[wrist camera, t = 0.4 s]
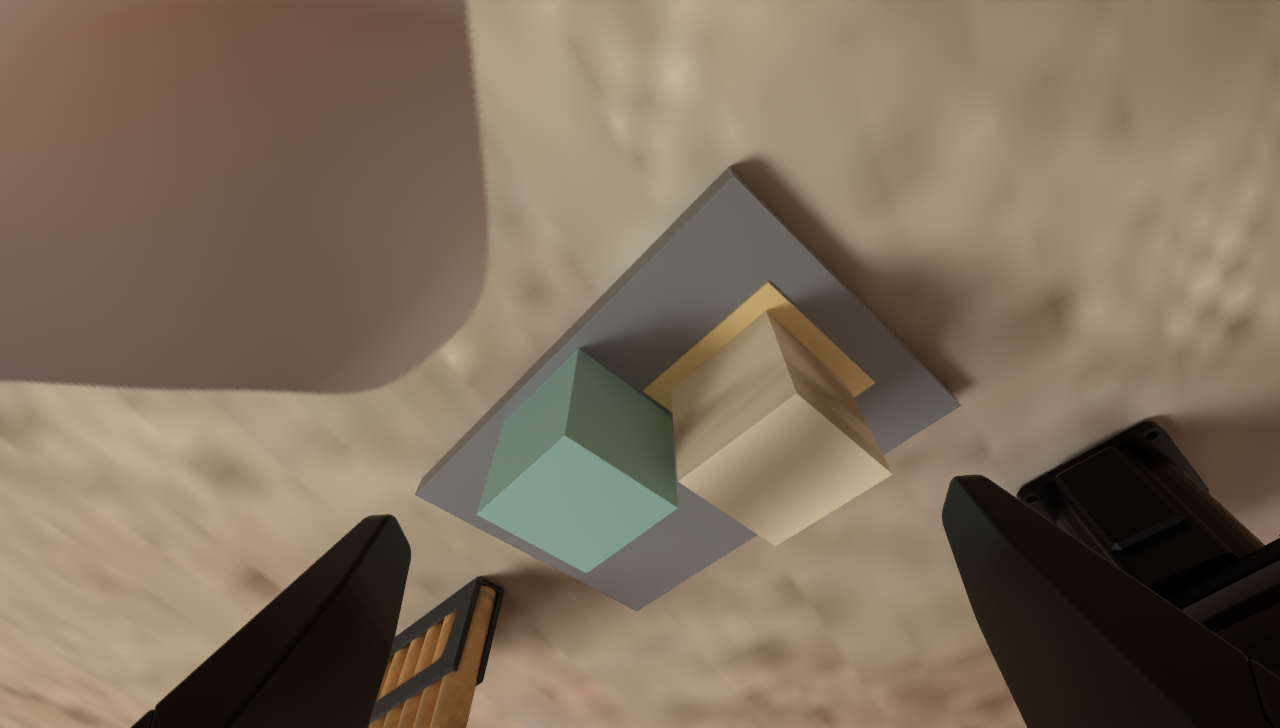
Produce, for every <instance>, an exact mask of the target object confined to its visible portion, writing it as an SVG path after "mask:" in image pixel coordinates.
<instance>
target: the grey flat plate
mask: <svg viewBox="0 0 1280 728" xmlns="http://www.w3.org/2000/svg"><path fill="white" fill-rule="evenodd" d="M764 311H767V312H768V313H769V314H770V315H771V316H773V317H774V318H775V319H776V320H777V321H778V322H779V323H780V324H781V325H782V326H784V327H785V328H786V329H787V330H788V331H789V332H790V333H791V334H792V335H794V336H795V337H796V338H797V339H798V340H799V341H800V342H801V343H802V344H803V345H805V346H806V347H807V348H808V349H809V350H810V351H811V352H812V353H813V354H815V355H816V356H817V357H818V358H819V359H820V360H821V361H822V362H823V363H824V364H826V365H827V366H828V367H829V368H830V369H831V370H832V371H833V372H834V373H836V374H837V375H838V376H839V377H840V378H841V379H842V380H843V381H844V382H845V383H847V385H848V387H849V389H850V391H851V393H852V395H853V397H854V399H855V401H856V403H857V405H858V407H859V409H860V411H861V413H862V415H863V417H864V419H865V421H866V423H867V425H868V427H869V429H870V431H871V433H872V435H873V437H874V438H875V440H876V442H877V444H878V446H879V448H880V450H881V452H882V454H883V455H884V454H885V453H887V452H888V451H890V450H891V449H893V448H895V447H896V446H898V445H899V444H901V443H902V442H904V441H906V440H907V439H909V438H910V437H912V436H913V435H915V434H917V433H918V432H920V431H921V430H923V429H925V428H926V427H928V426H929V425H931V424H932V423H934V422H936V421H937V420H939V419H940V418H942V417H943V416H945V415H947V414H948V413H950V412H951V411H953V410H954V409H956V408H958V407H959V406H961V405H960V404H959V402H958V401H957V399H956V398H955V397H954V395H953V394H952V393H951V391H950V390H949V389H948V388H947V387H946V386H945V385H944V384H943V383H942V382H941V381H940V380H939V379H938V378H937V377H936V376H935V375H934V374H933V373H932V372H931V371H930V370H929V369H928V368H927V367H926V366H925V365H924V364H923V363H922V362H921V361H920V360H919V359H918V358H917V357H916V356H915V355H914V354H913V353H912V352H911V351H910V350H909V349H908V348H907V347H906V346H905V344H904V343H903V342H902V341H901V340H900V339H899V338H898V337H897V336H896V335H895V334H894V333H893V332H892V331H891V330H890V329H889V328H888V327H887V326H886V325H885V324H884V323H883V322H882V321H881V320H880V319H879V318H878V317H877V316H876V315H875V314H874V313H873V312H872V311H871V310H870V309H869V308H868V307H867V306H866V305H865V304H864V303H863V302H862V301H861V300H860V299H859V298H858V297H857V296H856V295H855V294H854V293H853V292H852V291H851V290H850V289H849V288H848V287H847V286H846V285H845V284H844V283H843V282H842V281H841V280H840V278H839V277H838V276H837V275H836V274H835V273H834V272H833V271H832V270H831V269H830V268H829V267H828V266H827V265H826V264H825V263H824V262H823V261H822V260H821V259H820V258H819V257H818V256H817V255H816V254H815V253H814V252H813V251H812V250H811V249H810V248H809V247H808V246H807V245H806V244H805V243H804V242H803V241H802V240H801V239H800V238H799V237H798V236H797V235H796V234H795V233H794V232H793V231H792V230H791V229H790V228H789V227H788V226H787V225H786V224H785V223H784V222H783V221H782V220H781V219H780V218H779V217H778V216H777V215H776V213H775V212H774V211H773V210H772V209H771V208H770V207H769V206H768V205H767V204H766V203H765V202H764V201H763V200H762V199H761V198H760V197H759V196H758V195H757V194H756V193H755V192H754V191H753V190H752V189H751V188H750V187H749V186H748V185H747V184H746V183H745V182H744V181H743V180H742V179H741V178H740V177H739V176H738V175H737V174H736V173H735V172H734V171H733V170H732V169H731V168H730V167H728V168H727V169H726V170H725V172H724V173H723V174H722V175H721V176H720V177H719V178H718V179H717V180H716V181H715V182H714V183H713V184H712V185H711V186H710V187H709V188H708V189H707V190H706V191H705V192H704V193H703V194H702V195H701V196H700V197H699V198H698V199H697V200H696V201H695V202H694V203H693V204H692V205H691V206H690V207H689V208H688V209H687V210H686V211H685V212H684V213H683V214H682V215H681V216H680V217H679V218H678V219H677V220H676V221H675V222H674V223H673V224H672V225H671V226H670V227H669V228H668V229H667V230H666V231H665V232H664V233H663V234H662V235H661V236H660V238H659V239H658V240H657V241H656V242H655V243H654V244H653V245H652V246H651V247H650V248H649V249H648V250H647V251H646V252H645V253H644V254H643V255H642V256H641V257H640V258H639V259H638V260H637V261H636V262H635V263H634V264H633V265H632V266H631V267H630V268H629V269H628V270H627V271H626V272H625V273H624V274H623V275H622V276H621V277H620V278H619V279H618V280H617V281H616V282H615V283H614V284H613V285H612V286H611V287H610V288H609V289H608V290H607V291H606V292H605V293H604V294H603V295H602V296H601V297H600V298H599V299H598V300H597V301H596V302H595V304H594V305H593V306H592V307H591V308H590V309H589V310H588V311H587V312H586V313H585V314H584V315H583V316H582V317H581V318H580V319H579V320H578V321H577V322H576V323H575V324H574V325H573V326H572V327H571V328H570V329H569V330H568V331H567V332H566V333H565V334H564V335H563V336H562V337H561V338H560V339H559V340H558V341H557V342H556V343H555V344H554V345H553V346H552V347H551V348H550V349H549V350H548V351H547V352H546V353H545V354H544V355H543V356H542V357H541V358H540V359H539V360H538V361H537V362H536V363H535V364H534V365H533V366H532V367H531V369H530V370H529V371H528V372H527V373H526V374H525V375H524V376H523V377H522V378H521V379H520V380H519V381H518V382H517V383H516V384H515V385H514V386H513V387H512V388H511V389H510V390H509V391H508V392H507V393H506V394H505V395H504V396H503V397H502V398H501V399H500V400H499V401H498V402H497V403H496V404H495V405H494V406H493V407H492V408H491V409H490V410H489V411H488V412H487V413H486V414H485V415H484V416H483V417H482V418H481V419H480V420H479V421H478V422H477V423H476V424H475V425H474V426H473V427H472V428H471V429H470V430H469V431H468V432H467V433H466V435H465V436H464V437H463V438H462V439H461V440H460V441H459V442H458V443H457V444H456V445H455V446H454V447H453V448H452V449H451V450H450V451H449V452H448V453H447V454H446V455H445V456H444V457H443V458H442V459H441V460H440V461H439V462H438V463H437V464H436V465H435V466H434V467H433V468H432V469H431V470H430V471H429V472H428V473H427V474H426V475H425V476H424V477H423V478H422V479H421V482H420V484H419V486H418V489H417V491H416V493H415V495H416V496H418V497H420V498H422V499H424V500H426V501H428V502H429V503H431V504H433V505H435V506H437V507H439V508H441V509H443V510H445V511H447V512H449V513H450V514H452V515H454V516H456V517H458V518H460V519H462V520H464V521H466V522H468V523H470V524H471V525H473V526H475V527H477V528H479V529H481V530H483V531H485V532H487V533H489V534H491V535H492V536H494V537H496V538H498V539H500V540H502V541H504V542H506V543H508V544H510V545H512V546H513V547H515V548H517V549H519V550H521V551H523V552H525V553H527V554H529V555H531V556H533V557H534V558H536V559H538V560H540V561H542V562H544V563H546V564H548V565H550V566H552V567H553V568H555V569H557V570H559V571H561V572H563V573H565V574H567V575H569V576H571V577H573V578H574V579H576V580H578V581H580V582H582V583H584V584H586V585H588V586H590V587H592V588H594V589H595V590H597V591H599V592H601V593H603V594H605V595H607V596H609V597H611V598H613V599H615V600H616V601H618V602H620V603H622V604H624V605H626V606H628V607H630V608H632V609H634V610H636V611H638V610H639V609H641V608H642V607H644V606H646V605H647V604H649V603H650V602H652V601H653V600H655V599H657V598H658V597H660V596H661V595H663V594H664V593H666V592H668V591H669V590H671V589H672V588H674V587H675V586H677V585H679V584H680V583H682V582H683V581H685V580H687V579H688V578H690V577H691V576H693V575H694V574H696V573H698V572H699V571H701V570H702V569H704V568H705V567H707V566H709V565H710V564H712V563H713V562H715V561H716V560H718V559H720V558H721V557H723V556H724V555H726V554H727V553H729V552H731V551H732V550H734V549H735V548H737V547H739V546H740V545H742V544H743V543H745V542H746V541H748V540H750V539H751V538H753V537H754V536H756V535H757V534H756V533H754V532H753V531H751V530H750V529H748V528H747V527H745V526H744V525H742V524H741V523H739V522H738V521H736V520H735V519H733V518H732V517H730V516H729V515H727V514H726V513H724V512H723V511H721V510H720V509H718V508H717V507H715V506H714V505H712V504H711V503H709V502H708V501H706V500H705V499H703V498H702V497H700V496H699V495H697V494H696V493H694V492H693V491H691V490H690V489H688V488H687V487H685V486H684V485H682V484H681V483H679V482H678V476H677V463H676V450H675V437H674V424H673V411H672V398H671V390H672V389H673V388H674V387H675V386H677V385H678V384H679V383H680V382H681V381H683V380H684V379H685V378H686V377H687V376H688V375H690V374H691V373H692V372H693V371H694V370H696V369H697V368H698V367H699V366H700V365H702V364H703V363H704V362H705V361H706V360H707V359H709V358H710V357H711V356H712V355H713V354H715V353H716V352H717V351H718V350H719V349H721V348H722V347H723V346H724V345H725V344H726V343H728V342H729V341H730V340H731V339H732V338H734V337H735V336H736V335H737V334H738V333H739V332H741V331H742V330H743V329H744V328H745V327H747V326H748V325H749V324H750V323H751V322H753V321H754V320H755V319H756V318H757V317H758V316H760V315H761V314H762V313H763V312H764ZM578 348H579V349H580V350H581V351H583V352H584V353H585V354H587V355H588V356H590V357H591V358H592V359H594V360H595V361H597V362H598V363H599V364H601V365H602V366H603V367H605V368H606V369H608V370H609V371H610V372H612V373H613V374H614V375H616V376H617V377H619V378H620V379H621V380H623V381H624V382H625V383H627V384H628V385H630V386H631V387H632V388H634V389H635V390H636V391H638V392H639V393H641V394H642V395H643V396H645V397H646V398H648V399H649V400H650V401H652V402H653V403H654V404H656V405H657V406H659V407H660V408H661V409H663V410H664V411H665V412H667V413H668V414H670V415H671V419H672V433H673V446H674V460H675V474H676V487H677V501H678V508H677V509H676V510H675V511H673V512H672V513H670V514H669V515H668V516H666V517H665V518H663V519H662V520H661V521H659V522H658V523H656V524H655V525H654V526H652V527H651V528H649V529H648V530H647V531H645V532H644V533H642V534H641V535H640V536H638V537H637V538H635V539H634V540H633V541H631V542H630V543H628V544H627V545H626V546H624V547H623V548H621V549H620V550H619V551H617V552H616V553H614V554H613V555H612V556H610V557H609V558H607V559H606V560H605V561H603V562H602V563H600V564H599V565H598V566H596V567H595V568H593V569H592V570H591V571H589V572H588V573H585V572H583V571H581V570H579V569H577V568H576V567H574V566H572V565H570V564H568V563H566V562H564V561H562V560H561V559H559V558H557V557H555V556H553V555H551V554H549V553H547V552H546V551H544V550H542V549H540V548H538V547H536V546H534V545H533V544H531V543H529V542H527V541H525V540H523V539H521V538H519V537H518V536H516V535H514V534H512V533H510V532H508V531H506V530H504V529H503V528H501V527H499V526H497V525H495V524H493V523H491V522H489V521H488V520H486V519H484V518H482V517H480V516H478V515H476V514H477V511H478V507H479V504H480V501H481V497H482V494H483V490H484V487H485V484H486V480H487V477H488V474H489V470H490V467H491V463H492V460H493V457H494V453H495V450H496V447H497V443H498V440H499V437H500V433H501V430H502V426H503V423H504V421H505V420H506V419H507V418H508V417H509V416H510V415H511V414H512V413H513V412H514V411H515V410H516V409H517V408H518V407H519V406H520V405H521V404H522V403H523V402H524V401H525V400H526V399H527V398H528V397H530V396H531V395H532V394H533V393H534V392H535V391H536V390H537V389H538V388H539V387H540V386H541V385H542V384H543V383H544V382H545V381H546V380H547V379H548V378H549V377H550V376H551V375H552V374H553V373H554V372H555V371H556V370H557V369H558V368H559V367H560V366H561V365H562V364H563V363H564V362H565V361H566V360H567V359H568V358H569V357H570V356H571V355H572V354H573V353H574V352H575V351H576V350H577V349H578Z"/></svg>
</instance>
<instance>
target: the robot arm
mask: <svg viewBox="0 0 1280 728" xmlns="http://www.w3.org/2000/svg"><path fill="white" fill-rule="evenodd" d="M1208 492H1209V490H1208V488H1207V486H1206V485H1205V484H1204V482H1203V481H1202V480H1201V478H1200V477H1199V476H1198V474H1197V473H1196V472H1195V470H1194V469H1193V468H1192V466H1191V465H1190V464H1189V462H1188V461H1187V460H1186V458H1185V457H1184V456H1183V454H1182V453H1181V452H1180V450H1179V449H1178V448H1177V446H1176V445H1175V444H1174V442H1173V441H1172V440H1171V438H1170V437H1169V436H1168V435H1167V433H1166V432H1165V431H1164V429H1163V428H1161V427H1160V426H1159V425H1158V424H1157V423H1155V422H1151V421H1150V422H1145V423H1143V424H1140V425H1138V426H1137V427H1135V428H1133V429H1131V430H1129V431H1127V432H1125V433H1124V434H1122V435H1120V436H1118V437H1116V438H1114V439H1113V440H1111V441H1109V442H1107V443H1105V444H1103V445H1101V446H1100V447H1098V448H1096V449H1094V450H1092V451H1090V452H1089V453H1087V454H1085V455H1083V456H1081V457H1079V458H1077V459H1076V460H1074V461H1072V462H1070V463H1068V464H1066V465H1064V466H1063V467H1061V468H1059V469H1057V470H1055V471H1053V472H1052V473H1050V474H1048V475H1046V476H1044V477H1042V478H1040V479H1039V480H1037V481H1035V482H1033V483H1031V484H1029V485H1028V486H1026V487H1024V488H1022V489H1021V490H1019V491H1018V493H1017V498H1018V499H1017V498H1016V497H1014V496H1013V495H1011V494H1010V493H1009V492H1007V491H1006V490H1004V489H1003V488H1001V487H1000V486H998V485H997V484H995V483H994V482H992V481H991V480H989V479H988V478H986V477H984V476H982V475H964V476H956V477H954V478H953V479H952V480H951V482H950V485H949V488H948V492H947V496H946V499H945V503H944V506H943V510H942V522H943V526H944V529H945V532H946V535H947V538H948V541H949V544H950V546H951V549H952V552H953V555H954V558H955V561H956V564H957V567H958V569H959V572H960V575H961V578H962V581H963V584H964V587H965V590H966V592H967V595H968V598H969V601H970V604H971V606H972V609H973V612H974V614H975V617H976V620H977V622H978V624H979V626H980V629H981V631H982V633H983V635H984V637H985V640H986V642H987V644H988V646H989V648H990V650H991V652H992V654H993V656H994V659H995V661H996V663H997V665H998V667H999V669H1000V671H1001V673H1002V675H1003V677H1004V680H1005V682H1006V684H1007V686H1008V688H1009V690H1010V692H1011V694H1012V696H1013V699H1014V701H1015V703H1016V705H1017V707H1018V709H1019V711H1020V713H1021V715H1022V718H1023V720H1024V722H1025V724H1026V726H1027V728H1280V538H1279V539H1277V540H1275V541H1273V542H1271V543H1269V544H1267V545H1264V544H1263V543H1262V542H1261V541H1260V540H1259V539H1258V538H1257V537H1255V536H1254V535H1253V534H1252V533H1251V532H1250V531H1249V530H1248V529H1247V528H1246V527H1245V526H1243V525H1242V524H1241V523H1240V522H1239V521H1238V520H1237V519H1236V518H1235V517H1234V516H1233V515H1231V514H1230V513H1229V512H1228V511H1227V510H1226V509H1225V508H1224V507H1223V506H1222V505H1221V504H1220V503H1218V502H1217V501H1216V500H1215V499H1214V498H1213V497H1212V496H1211V495H1210V494H1209V493H1208ZM1279 536H1280V535H1279ZM410 560H411V549H410V545H409V543H408V541H407V539H406V537H405V535H404V533H403V531H402V529H401V527H400V525H399V523H398V521H397V519H396V518H395V517H394V516H392V515H389V514H386V515H372V516H368V517H366V518H364V519H363V520H362V521H361V522H360V523H358V524H357V525H356V526H355V527H354V528H353V529H352V530H351V531H350V532H348V533H347V534H346V535H345V536H344V537H343V538H342V539H341V540H339V541H338V542H337V543H336V544H335V545H334V546H333V547H332V548H331V549H329V550H328V551H327V552H326V553H325V554H324V555H323V556H322V557H321V558H319V559H318V560H317V561H316V562H315V563H314V564H313V565H312V566H310V567H309V568H308V569H307V570H306V571H305V572H304V573H303V574H302V575H300V576H299V577H298V578H297V579H296V580H295V581H294V582H293V583H291V584H290V585H289V586H288V587H287V588H286V589H285V590H284V591H283V592H281V593H280V594H279V595H278V596H277V597H276V598H275V599H274V600H273V601H271V602H270V603H269V604H268V605H267V606H266V607H265V608H264V609H262V610H261V611H260V612H259V613H258V614H257V615H256V616H255V617H254V618H252V619H251V620H250V621H249V622H248V623H247V624H246V625H245V626H244V627H242V628H241V629H240V630H239V631H238V632H237V633H236V634H235V635H233V636H232V637H231V638H230V639H229V640H228V641H227V642H226V643H225V644H223V645H222V646H221V647H220V648H219V649H218V650H217V651H216V652H214V653H213V654H212V655H211V656H210V657H209V658H208V659H207V660H206V661H204V662H203V663H202V664H201V665H200V666H199V667H198V668H197V669H196V670H194V671H193V672H192V673H191V674H190V675H189V676H188V677H187V678H185V679H184V680H183V681H182V682H181V683H180V684H179V685H178V686H177V687H175V688H174V689H173V690H172V691H171V692H170V693H169V694H168V695H166V696H165V697H164V698H163V699H162V700H161V701H160V702H159V703H158V704H157V705H156V706H155V710H150V711H148V712H147V713H146V714H145V715H144V716H143V717H142V718H141V719H139V720H138V721H137V722H136V723H135V724H134V725H133V726H132V727H131V728H368V725H369V722H370V719H371V715H372V712H373V709H374V706H375V703H376V700H377V696H378V693H379V690H380V687H381V684H382V680H383V677H384V674H385V671H386V668H387V665H388V661H389V658H390V654H391V651H392V647H393V643H394V638H395V634H396V629H397V624H398V619H399V615H400V610H401V605H402V600H403V595H404V590H405V585H406V580H407V575H408V570H409V566H410Z"/></svg>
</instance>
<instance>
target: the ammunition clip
mask: <svg viewBox="0 0 1280 728" xmlns="http://www.w3.org/2000/svg"><path fill="white" fill-rule="evenodd" d="M503 593H504V591H503V590H501V589H500V588H498V587H496V586H494V585H492V584H490V583H488V582H486V581H484V580H482V579H480V578H478V577H476V578H475V579H474V580H472V581H471V582H470V583H468V584H467V585H466V586H464V587H463V588H461V589H460V590H459V591H457V592H456V593H455V594H453V595H452V596H451V597H449V598H448V599H446V600H445V601H444V602H442V603H441V604H440V605H438V606H437V607H436V608H434V609H433V610H431V611H430V612H429V613H427V614H426V615H425V616H423V617H422V618H421V619H419V620H418V621H416V622H415V623H414V624H412V625H411V626H410V627H408V628H407V629H406V630H404V631H403V632H401V633H400V634H399V635H397V636H396V637H395V638H394V643H393V647H392V651H391V654H390V658H389V661H388V665H387V668H386V671H385V674H384V677H383V680H382V684H381V687H380V690H379V693H378V696H377V700H376V703H375V706H374V709H373V712H372V715H371V719H370V722H369V725H368V728H466V726H467V721H468V717H469V713H470V709H471V704H472V700H473V696H474V691H475V687H476V686H477V685H479V684H480V683H482V682H483V679H484V675H485V670H486V666H487V662H488V658H489V653H490V649H491V645H492V640H493V636H494V632H495V628H496V623H497V619H498V615H499V611H500V606H501V602H502V598H503Z"/></svg>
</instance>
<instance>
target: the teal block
mask: <svg viewBox="0 0 1280 728" xmlns="http://www.w3.org/2000/svg"><path fill="white" fill-rule="evenodd" d="M677 508H678V501H677V487H676V474H675V460H674V446H673V433H672V419H671V415H670V414H668V413H667V412H665V411H664V410H663V409H661V408H660V407H659V406H657V405H656V404H654V403H653V402H652V401H650V400H649V399H648V398H646V397H645V396H643V395H642V394H641V393H639V392H638V391H636V390H635V389H634V388H632V387H631V386H630V385H628V384H627V383H625V382H624V381H623V380H621V379H620V378H619V377H617V376H616V375H614V374H613V373H612V372H610V371H609V370H608V369H606V368H605V367H603V366H602V365H601V364H599V363H598V362H597V361H595V360H594V359H592V358H591V357H590V356H588V355H587V354H585V353H584V352H583V351H581V350H580V349H579V348H578V349H577V350H576V351H575V352H574V353H573V354H572V355H571V356H570V357H569V358H568V359H567V360H566V361H565V362H564V363H563V364H562V365H561V366H560V367H559V368H558V369H557V370H556V371H555V372H554V373H553V374H552V375H551V376H550V377H549V378H548V379H547V380H546V381H545V382H544V383H543V384H542V385H541V386H540V387H539V388H538V389H537V390H536V391H535V392H534V393H533V394H532V395H531V396H530V397H528V398H527V399H526V400H525V401H524V402H523V403H522V404H521V405H520V406H519V407H518V408H517V409H516V410H515V411H514V412H513V413H512V414H511V415H510V416H509V417H508V418H507V419H506V420H505V421H504V423H503V426H502V430H501V433H500V437H499V440H498V443H497V447H496V450H495V453H494V457H493V460H492V463H491V467H490V470H489V474H488V477H487V480H486V484H485V487H484V490H483V494H482V497H481V501H480V504H479V507H478V511H477V514H476V515H478V516H480V517H482V518H484V519H486V520H488V521H489V522H491V523H493V524H495V525H497V526H499V527H501V528H503V529H504V530H506V531H508V532H510V533H512V534H514V535H516V536H518V537H519V538H521V539H523V540H525V541H527V542H529V543H531V544H533V545H534V546H536V547H538V548H540V549H542V550H544V551H546V552H547V553H549V554H551V555H553V556H555V557H557V558H559V559H561V560H562V561H564V562H566V563H568V564H570V565H572V566H574V567H576V568H577V569H579V570H581V571H583V572H585V573H588V572H589V571H591V570H592V569H593V568H595V567H596V566H598V565H599V564H600V563H602V562H603V561H605V560H606V559H607V558H609V557H610V556H612V555H613V554H614V553H616V552H617V551H619V550H620V549H621V548H623V547H624V546H626V545H627V544H628V543H630V542H631V541H633V540H634V539H635V538H637V537H638V536H640V535H641V534H642V533H644V532H645V531H647V530H648V529H649V528H651V527H652V526H654V525H655V524H656V523H658V522H659V521H661V520H662V519H663V518H665V517H666V516H668V515H669V514H670V513H672V512H673V511H675V510H676V509H677Z"/></svg>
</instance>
